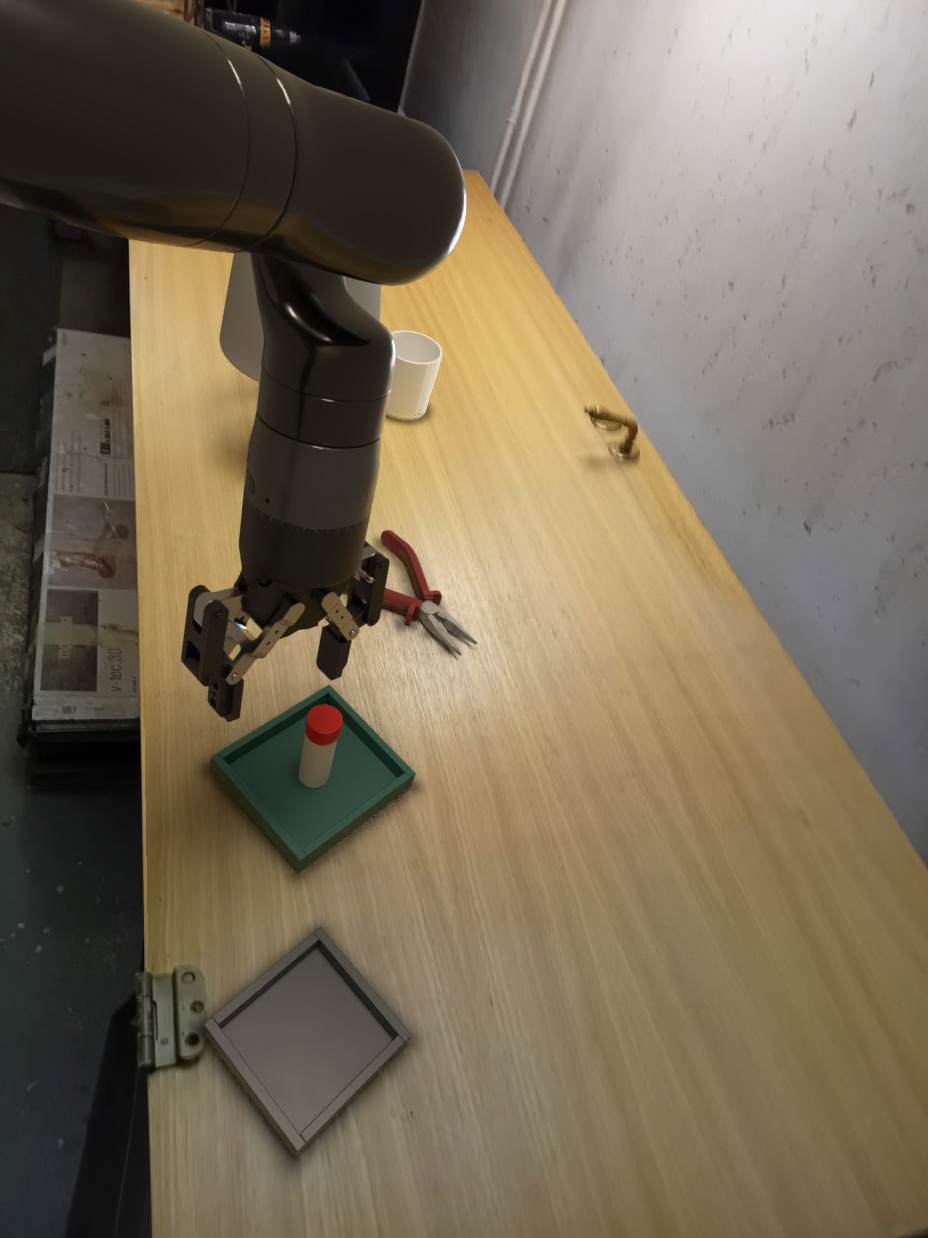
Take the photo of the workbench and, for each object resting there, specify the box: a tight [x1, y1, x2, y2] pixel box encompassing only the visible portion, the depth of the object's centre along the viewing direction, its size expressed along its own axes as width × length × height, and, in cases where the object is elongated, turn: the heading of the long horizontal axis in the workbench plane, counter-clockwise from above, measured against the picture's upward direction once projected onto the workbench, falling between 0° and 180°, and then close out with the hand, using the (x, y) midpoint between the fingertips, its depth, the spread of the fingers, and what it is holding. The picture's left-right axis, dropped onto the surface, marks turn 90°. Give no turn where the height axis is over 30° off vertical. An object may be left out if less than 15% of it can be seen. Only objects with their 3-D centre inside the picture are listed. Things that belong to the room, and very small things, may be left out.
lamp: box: [218, 253, 382, 383], centre depth 100 cm, size 19×19×34 cm
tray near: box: [202, 926, 413, 1159], centre depth 65 cm, size 12×12×3 cm
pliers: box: [344, 529, 478, 657], centre depth 100 cm, size 12×20×3 cm, turn 46°
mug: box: [386, 329, 444, 422], centre depth 123 cm, size 11×9×10 cm
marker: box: [298, 705, 343, 788], centre depth 78 cm, size 3×3×10 cm
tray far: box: [209, 684, 417, 874], centre depth 81 cm, size 15×14×3 cm
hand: (279, 692), depth 58 cm, fingers open, 8 cm apart
